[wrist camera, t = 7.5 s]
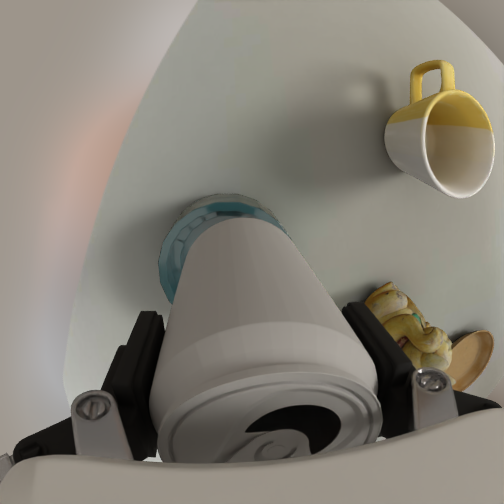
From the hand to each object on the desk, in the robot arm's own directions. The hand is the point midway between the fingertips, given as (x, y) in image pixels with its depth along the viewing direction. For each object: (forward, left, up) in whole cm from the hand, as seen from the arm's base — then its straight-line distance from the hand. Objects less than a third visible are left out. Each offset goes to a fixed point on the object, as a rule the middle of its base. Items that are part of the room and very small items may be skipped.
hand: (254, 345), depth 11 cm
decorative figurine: (+19, -13, -24) cm, 33 cm away
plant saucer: (+39, -25, -24) cm, 52 cm away
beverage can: (0, 0, -7) cm, 7 cm away
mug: (+20, +11, -24) cm, 33 cm away
